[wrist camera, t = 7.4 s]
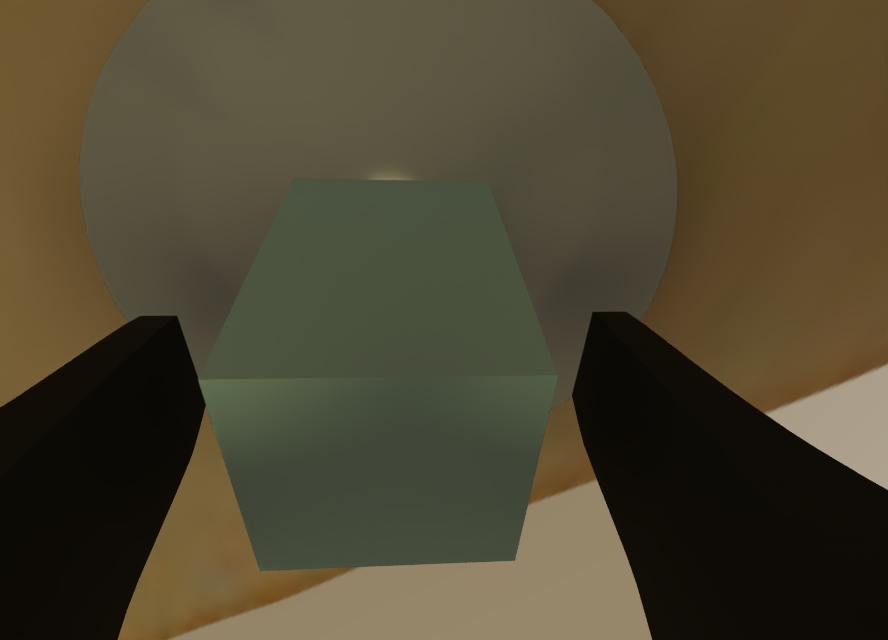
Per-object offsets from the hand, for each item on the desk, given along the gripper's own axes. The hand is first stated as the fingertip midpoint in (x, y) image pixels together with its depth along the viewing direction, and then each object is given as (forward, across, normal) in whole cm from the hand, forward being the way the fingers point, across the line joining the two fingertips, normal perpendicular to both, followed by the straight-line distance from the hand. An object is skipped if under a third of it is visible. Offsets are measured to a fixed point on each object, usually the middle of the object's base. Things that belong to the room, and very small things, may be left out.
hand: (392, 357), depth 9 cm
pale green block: (+3, 0, 0) cm, 3 cm away
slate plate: (+5, 0, 0) cm, 5 cm away
